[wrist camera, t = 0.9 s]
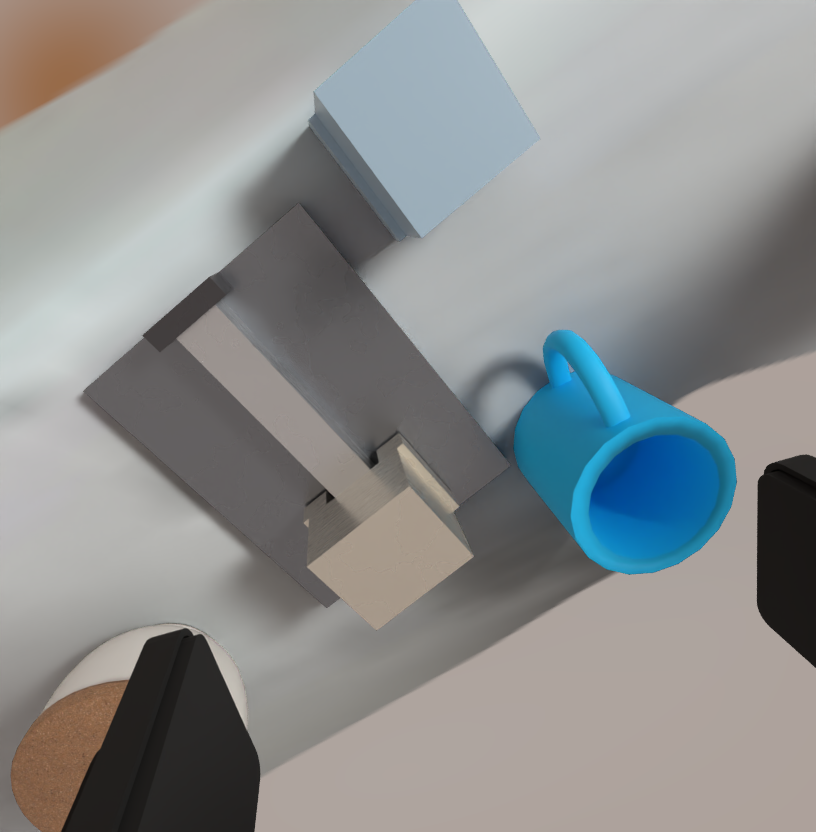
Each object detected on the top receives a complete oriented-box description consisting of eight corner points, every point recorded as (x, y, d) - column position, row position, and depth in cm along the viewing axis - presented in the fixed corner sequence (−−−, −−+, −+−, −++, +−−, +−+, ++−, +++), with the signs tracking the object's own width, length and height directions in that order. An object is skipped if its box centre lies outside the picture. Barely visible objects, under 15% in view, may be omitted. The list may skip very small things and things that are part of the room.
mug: (658, 459, 35) (753, 526, 27) (541, 518, 35) (603, 601, 27) (598, 283, 30) (690, 304, 23) (465, 352, 30) (512, 396, 23)
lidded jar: (198, 752, 37) (158, 918, 28) (42, 685, 33) (-58, 850, 25) (294, 642, 35) (285, 782, 26) (140, 559, 32) (70, 688, 23)
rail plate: (299, 203, 27) (291, 196, 20) (505, 458, 33) (552, 519, 26) (90, 385, 28) (18, 436, 21) (326, 597, 34) (327, 689, 27)
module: (422, 24, 25) (451, -33, 19) (502, 150, 27) (548, 131, 22) (309, 125, 26) (305, 98, 20) (395, 240, 28) (414, 244, 22)
